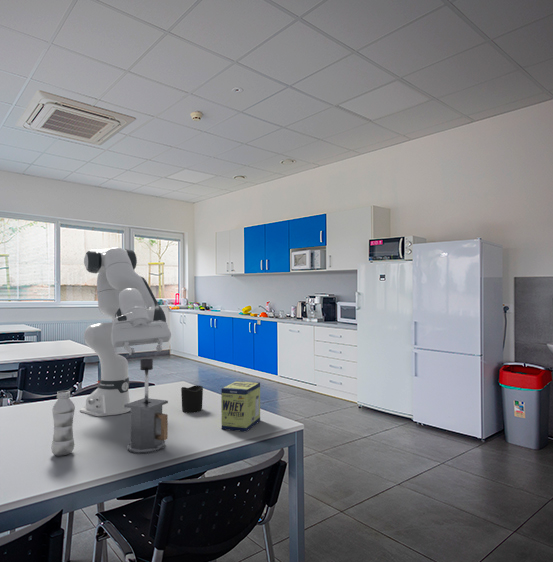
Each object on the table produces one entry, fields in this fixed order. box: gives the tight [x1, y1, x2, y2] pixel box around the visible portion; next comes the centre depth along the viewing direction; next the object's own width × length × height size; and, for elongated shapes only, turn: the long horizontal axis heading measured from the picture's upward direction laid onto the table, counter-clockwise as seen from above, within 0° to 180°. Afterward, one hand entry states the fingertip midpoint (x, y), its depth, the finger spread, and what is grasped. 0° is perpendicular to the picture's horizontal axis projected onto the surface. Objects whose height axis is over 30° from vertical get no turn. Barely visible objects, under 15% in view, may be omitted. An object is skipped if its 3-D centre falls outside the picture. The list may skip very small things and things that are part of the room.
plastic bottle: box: [51, 390, 76, 457], centre depth 138 cm, size 6×7×20 cm
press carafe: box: [124, 397, 169, 455], centre depth 144 cm, size 14×12×15 cm
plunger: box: [139, 357, 154, 404], centre depth 145 cm, size 8×8×18 cm
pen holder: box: [180, 384, 204, 414], centre depth 189 cm, size 9×9×10 cm
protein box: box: [220, 380, 261, 432], centre depth 168 cm, size 10×16×16 cm
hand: (146, 352), depth 147 cm, fingers open, 8 cm apart
